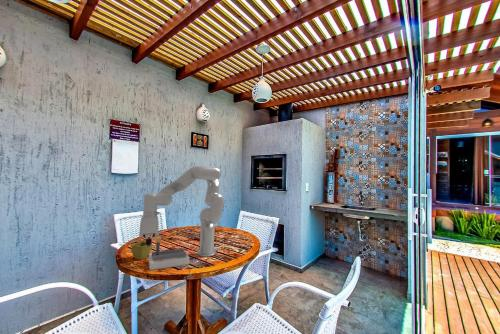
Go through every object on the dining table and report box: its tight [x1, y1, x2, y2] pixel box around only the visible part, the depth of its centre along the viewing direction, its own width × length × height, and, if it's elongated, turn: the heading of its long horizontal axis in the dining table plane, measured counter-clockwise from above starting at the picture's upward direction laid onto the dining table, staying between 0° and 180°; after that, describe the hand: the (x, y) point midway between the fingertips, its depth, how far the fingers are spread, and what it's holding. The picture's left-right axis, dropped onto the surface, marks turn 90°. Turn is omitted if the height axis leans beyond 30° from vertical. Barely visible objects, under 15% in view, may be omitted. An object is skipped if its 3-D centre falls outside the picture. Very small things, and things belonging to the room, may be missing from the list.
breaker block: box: [147, 248, 190, 271], centre depth 135 cm, size 22×14×6 cm, turn 118°
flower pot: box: [130, 241, 153, 261], centre depth 142 cm, size 9×9×9 cm
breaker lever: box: [153, 234, 162, 256], centre depth 133 cm, size 4×6×12 cm, turn 28°
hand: (148, 245), depth 130 cm, fingers closed
